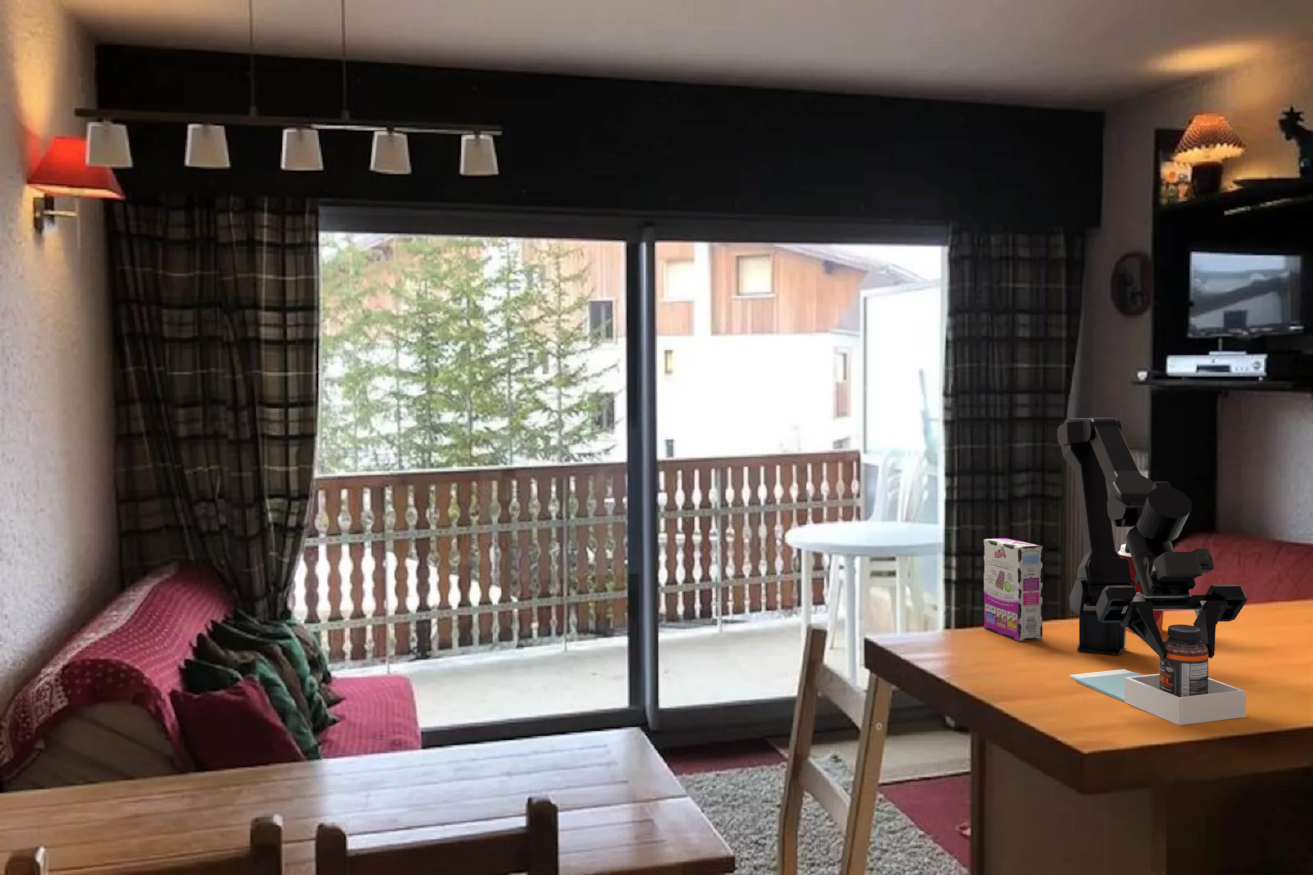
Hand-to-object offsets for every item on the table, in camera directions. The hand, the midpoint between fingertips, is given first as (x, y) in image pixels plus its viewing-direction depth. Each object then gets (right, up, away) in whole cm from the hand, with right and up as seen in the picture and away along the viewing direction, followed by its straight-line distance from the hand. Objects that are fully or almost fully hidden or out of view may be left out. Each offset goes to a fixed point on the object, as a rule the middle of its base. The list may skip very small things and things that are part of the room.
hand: (1188, 657), depth 145 cm
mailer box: (-1, -7, +8) cm, 11 cm away
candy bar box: (-8, -5, +46) cm, 47 cm away
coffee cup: (+15, -5, +46) cm, 49 cm away
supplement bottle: (0, -8, +2) cm, 8 cm away
